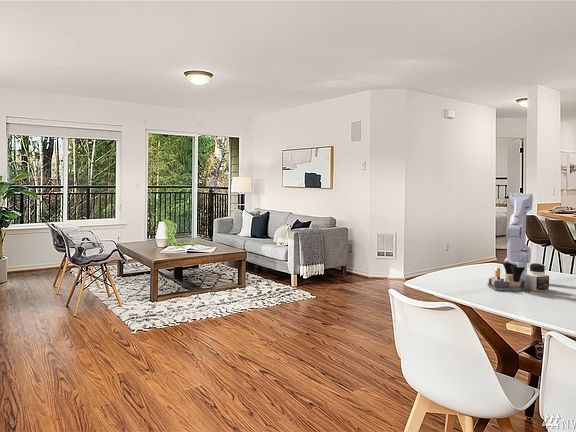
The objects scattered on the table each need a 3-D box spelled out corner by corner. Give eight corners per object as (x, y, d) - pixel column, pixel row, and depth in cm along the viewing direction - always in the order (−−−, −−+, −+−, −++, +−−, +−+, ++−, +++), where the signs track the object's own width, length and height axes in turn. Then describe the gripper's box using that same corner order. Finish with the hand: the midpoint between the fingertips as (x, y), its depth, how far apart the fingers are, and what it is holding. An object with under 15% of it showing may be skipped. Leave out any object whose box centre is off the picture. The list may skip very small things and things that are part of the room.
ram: (490, 283, 212) (491, 266, 211) (497, 283, 211) (497, 266, 211) (494, 285, 207) (495, 268, 206) (501, 286, 206) (502, 268, 206)
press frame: (487, 286, 214) (487, 276, 214) (519, 286, 213) (519, 277, 213) (495, 291, 204) (495, 281, 204) (528, 291, 203) (529, 281, 203)
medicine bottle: (536, 291, 203) (537, 265, 202) (524, 288, 210) (525, 263, 209) (549, 290, 205) (550, 264, 204) (536, 287, 212) (537, 262, 211)
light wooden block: (505, 284, 211) (505, 273, 210) (516, 284, 210) (516, 273, 210) (508, 286, 207) (508, 275, 206) (519, 286, 206) (520, 275, 206)
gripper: (498, 248, 215) (498, 276, 216) (511, 253, 200) (510, 283, 201) (514, 248, 214) (513, 276, 215) (527, 253, 200) (526, 283, 201)
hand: (512, 279), depth 208 cm, fingers open, 7 cm apart
